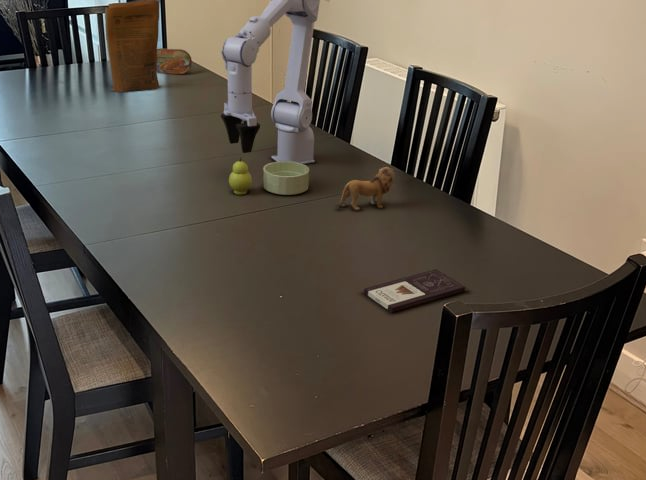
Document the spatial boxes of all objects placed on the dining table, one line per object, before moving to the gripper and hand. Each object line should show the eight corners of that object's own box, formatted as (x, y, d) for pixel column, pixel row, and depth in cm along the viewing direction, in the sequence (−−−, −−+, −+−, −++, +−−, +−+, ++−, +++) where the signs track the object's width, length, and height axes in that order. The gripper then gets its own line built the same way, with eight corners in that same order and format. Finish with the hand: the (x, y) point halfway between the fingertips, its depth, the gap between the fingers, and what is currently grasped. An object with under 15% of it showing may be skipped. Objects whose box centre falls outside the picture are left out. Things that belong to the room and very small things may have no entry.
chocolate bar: (465, 286, 163) (392, 308, 155) (464, 291, 164) (391, 312, 155) (435, 269, 169) (364, 288, 161) (435, 273, 170) (363, 292, 162)
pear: (246, 186, 208) (246, 151, 203) (255, 194, 204) (255, 158, 199) (225, 189, 206) (224, 154, 201) (234, 197, 202) (234, 161, 197)
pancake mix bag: (167, 89, 283) (162, 0, 267) (113, 94, 275) (104, 3, 260) (161, 84, 288) (155, -3, 272) (107, 89, 280) (98, -1, 265)
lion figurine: (385, 198, 204) (388, 163, 199) (396, 206, 200) (399, 170, 195) (332, 206, 199) (334, 170, 194) (342, 214, 195) (345, 177, 190)
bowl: (295, 177, 215) (296, 159, 212) (316, 192, 206) (317, 173, 204) (255, 183, 210) (255, 164, 207) (275, 199, 202) (275, 179, 199)
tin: (150, 72, 302) (149, 48, 297) (153, 70, 304) (151, 46, 300) (190, 75, 300) (189, 50, 295) (193, 73, 303) (192, 49, 298)
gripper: (212, 85, 201) (213, 140, 208) (237, 100, 190) (237, 158, 198) (238, 82, 203) (239, 137, 211) (264, 97, 193) (264, 154, 201)
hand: (240, 147), depth 205 cm, fingers open, 7 cm apart
